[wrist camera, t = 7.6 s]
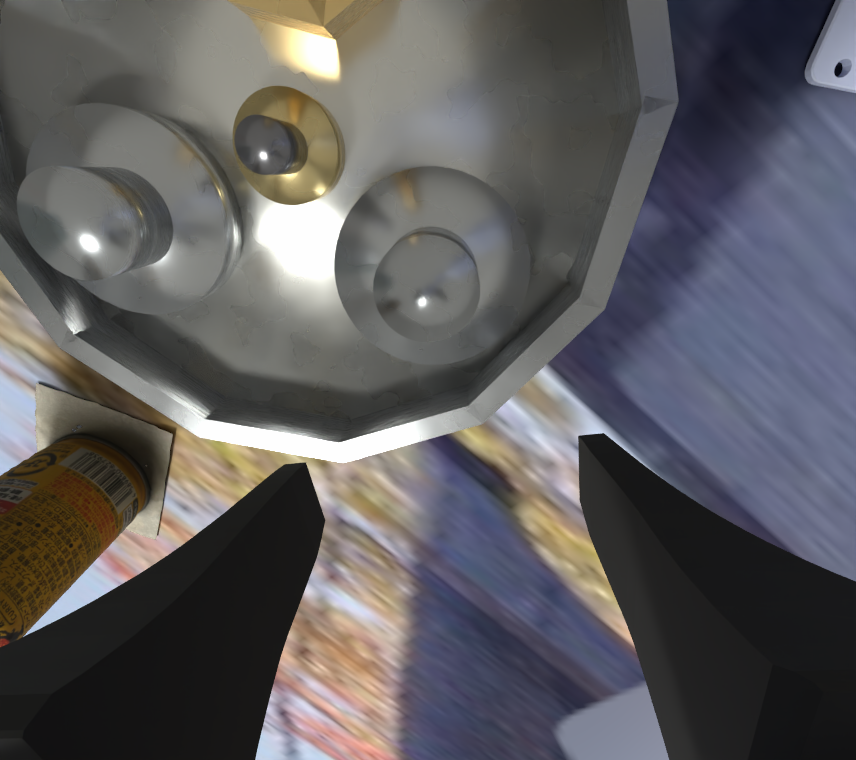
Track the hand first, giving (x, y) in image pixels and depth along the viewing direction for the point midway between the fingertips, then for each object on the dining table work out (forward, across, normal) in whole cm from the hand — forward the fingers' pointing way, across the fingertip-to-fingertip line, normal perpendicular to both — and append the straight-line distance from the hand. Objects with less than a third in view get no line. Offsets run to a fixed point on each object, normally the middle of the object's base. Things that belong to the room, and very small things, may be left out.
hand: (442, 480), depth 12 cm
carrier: (+10, +4, -9) cm, 14 cm away
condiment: (+10, +21, +5) cm, 23 cm away
